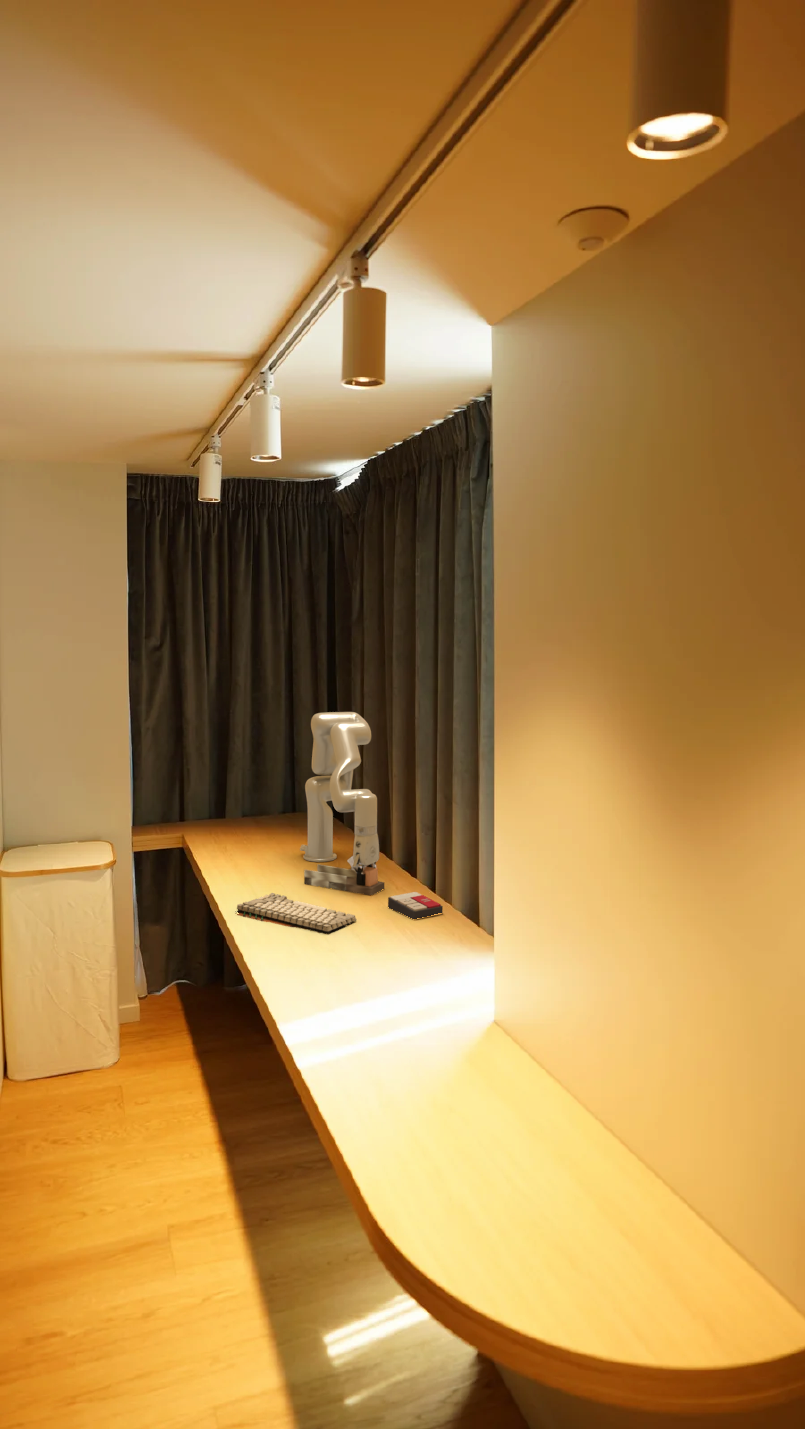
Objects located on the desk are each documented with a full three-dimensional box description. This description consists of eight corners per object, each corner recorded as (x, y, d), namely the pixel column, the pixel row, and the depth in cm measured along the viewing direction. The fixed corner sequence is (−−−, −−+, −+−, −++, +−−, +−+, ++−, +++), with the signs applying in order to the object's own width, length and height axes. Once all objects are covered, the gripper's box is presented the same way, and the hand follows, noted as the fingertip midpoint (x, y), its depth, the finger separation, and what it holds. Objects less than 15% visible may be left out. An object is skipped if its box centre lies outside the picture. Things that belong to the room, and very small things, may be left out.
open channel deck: (304, 883, 333) (304, 869, 333) (318, 878, 341) (318, 864, 340) (371, 895, 320) (371, 880, 320) (384, 889, 328) (384, 875, 327)
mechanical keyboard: (364, 921, 296) (364, 910, 296) (326, 938, 280) (326, 927, 280) (269, 900, 316) (269, 890, 316) (229, 916, 300) (229, 905, 300)
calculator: (414, 909, 295) (387, 894, 307) (413, 923, 296) (387, 907, 308) (443, 903, 301) (416, 889, 313) (442, 917, 302) (415, 902, 314)
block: (357, 884, 325) (357, 869, 324) (364, 880, 329) (365, 866, 329) (370, 886, 322) (370, 871, 322) (377, 882, 327) (377, 868, 326)
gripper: (362, 836, 315) (361, 890, 317) (387, 826, 330) (387, 878, 332) (342, 833, 319) (342, 887, 321) (369, 824, 334) (368, 875, 335)
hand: (365, 882), depth 326 cm, fingers closed on block, 5 cm apart
